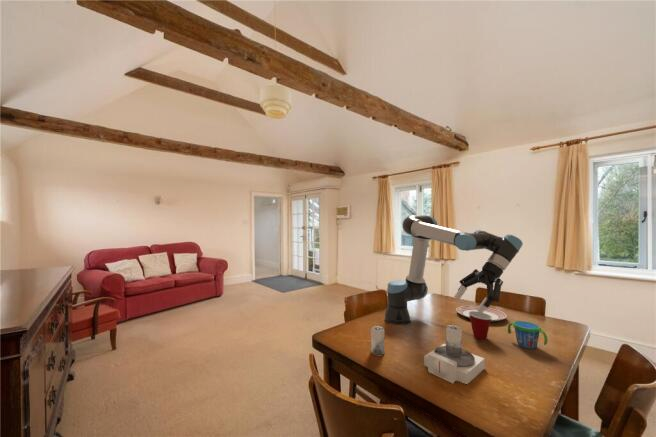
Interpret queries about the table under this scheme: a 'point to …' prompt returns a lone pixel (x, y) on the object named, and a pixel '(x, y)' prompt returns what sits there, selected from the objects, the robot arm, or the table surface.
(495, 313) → the dinner plate
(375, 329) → the cylinder
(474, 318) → the plastic cup
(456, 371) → the scale
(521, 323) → the snack cup
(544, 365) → the table surface
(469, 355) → the scale pan
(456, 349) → the silver metal cylinder
